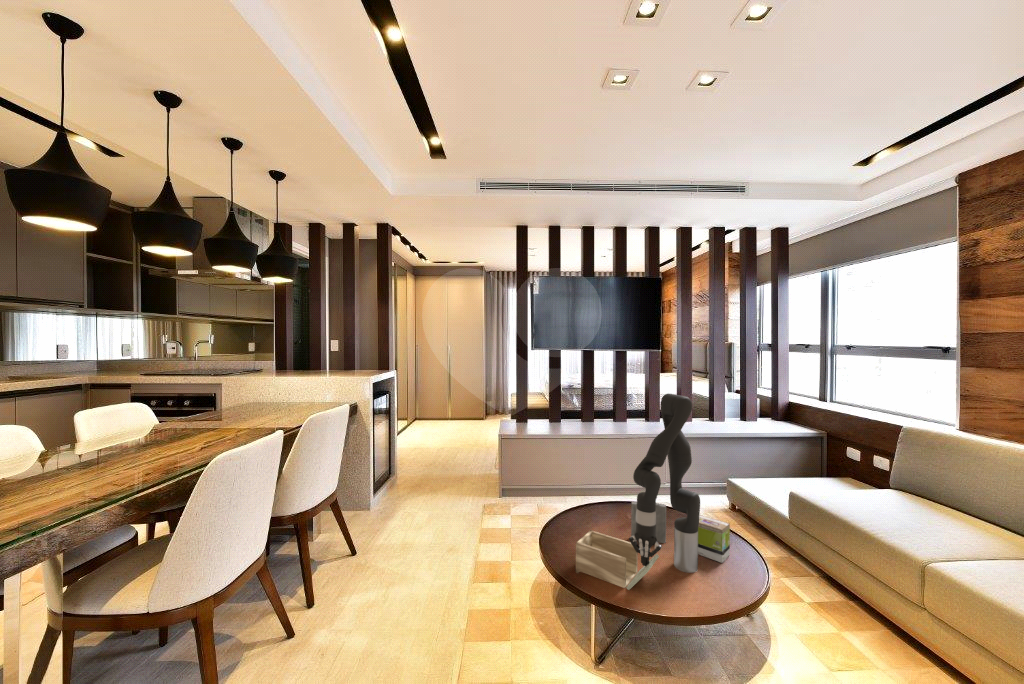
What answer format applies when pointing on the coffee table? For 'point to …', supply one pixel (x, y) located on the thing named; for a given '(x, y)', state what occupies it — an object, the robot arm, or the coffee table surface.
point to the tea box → (713, 538)
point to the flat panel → (642, 572)
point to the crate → (606, 558)
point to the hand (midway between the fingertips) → (644, 564)
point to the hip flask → (659, 521)
